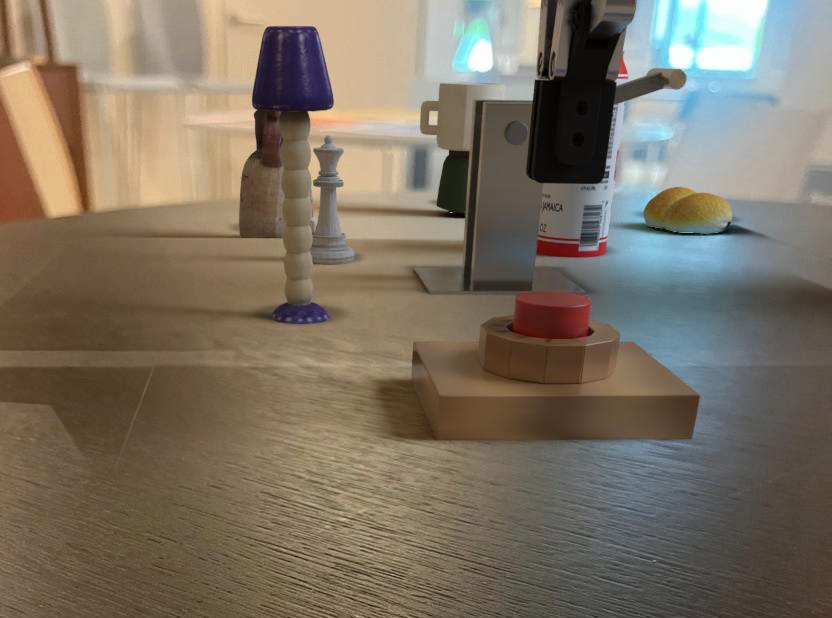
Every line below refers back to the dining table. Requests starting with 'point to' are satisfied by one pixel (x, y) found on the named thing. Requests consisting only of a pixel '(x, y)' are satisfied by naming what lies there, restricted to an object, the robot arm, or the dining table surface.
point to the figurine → (264, 183)
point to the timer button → (551, 315)
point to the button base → (549, 388)
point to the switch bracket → (499, 211)
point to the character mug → (455, 135)
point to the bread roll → (688, 211)
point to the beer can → (582, 204)
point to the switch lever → (650, 84)
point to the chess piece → (329, 210)
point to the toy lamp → (294, 150)
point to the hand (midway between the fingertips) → (563, 180)
